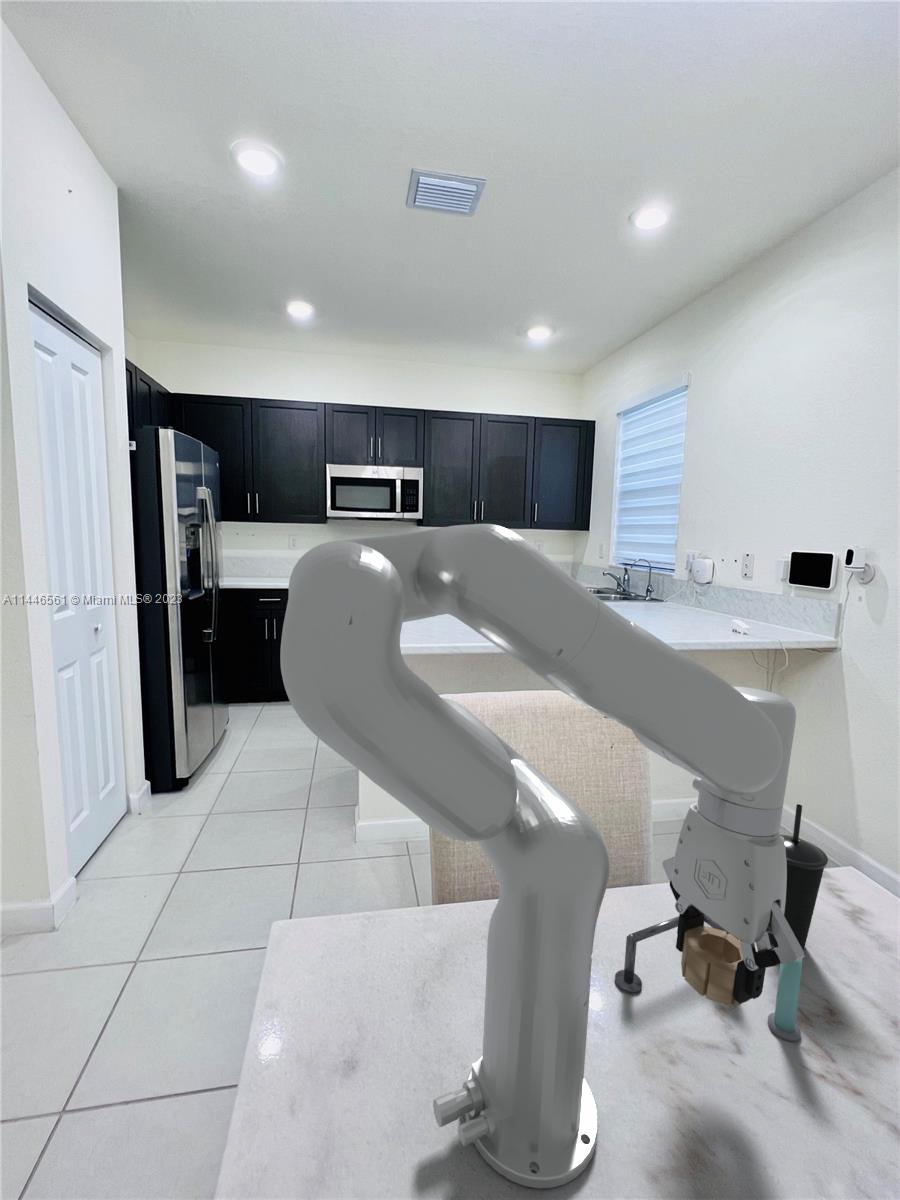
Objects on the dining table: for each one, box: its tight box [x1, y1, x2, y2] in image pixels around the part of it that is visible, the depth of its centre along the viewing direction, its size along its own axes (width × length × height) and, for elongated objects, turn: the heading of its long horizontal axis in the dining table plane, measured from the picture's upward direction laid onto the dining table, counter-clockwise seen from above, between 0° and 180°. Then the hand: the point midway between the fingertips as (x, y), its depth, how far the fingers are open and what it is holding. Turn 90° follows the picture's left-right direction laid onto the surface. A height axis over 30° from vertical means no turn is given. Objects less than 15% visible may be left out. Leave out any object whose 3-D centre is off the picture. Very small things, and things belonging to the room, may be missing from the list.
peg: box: [767, 958, 803, 1043], centre depth 61 cm, size 3×3×9 cm
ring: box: [680, 925, 750, 1007], centre depth 57 cm, size 6×6×4 cm
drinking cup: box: [768, 803, 829, 951], centre depth 74 cm, size 8×8×20 cm
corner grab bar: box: [614, 914, 740, 995], centre depth 67 cm, size 15×8×6 cm, turn 115°
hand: (715, 969), depth 57 cm, fingers closed on ring, 6 cm apart
